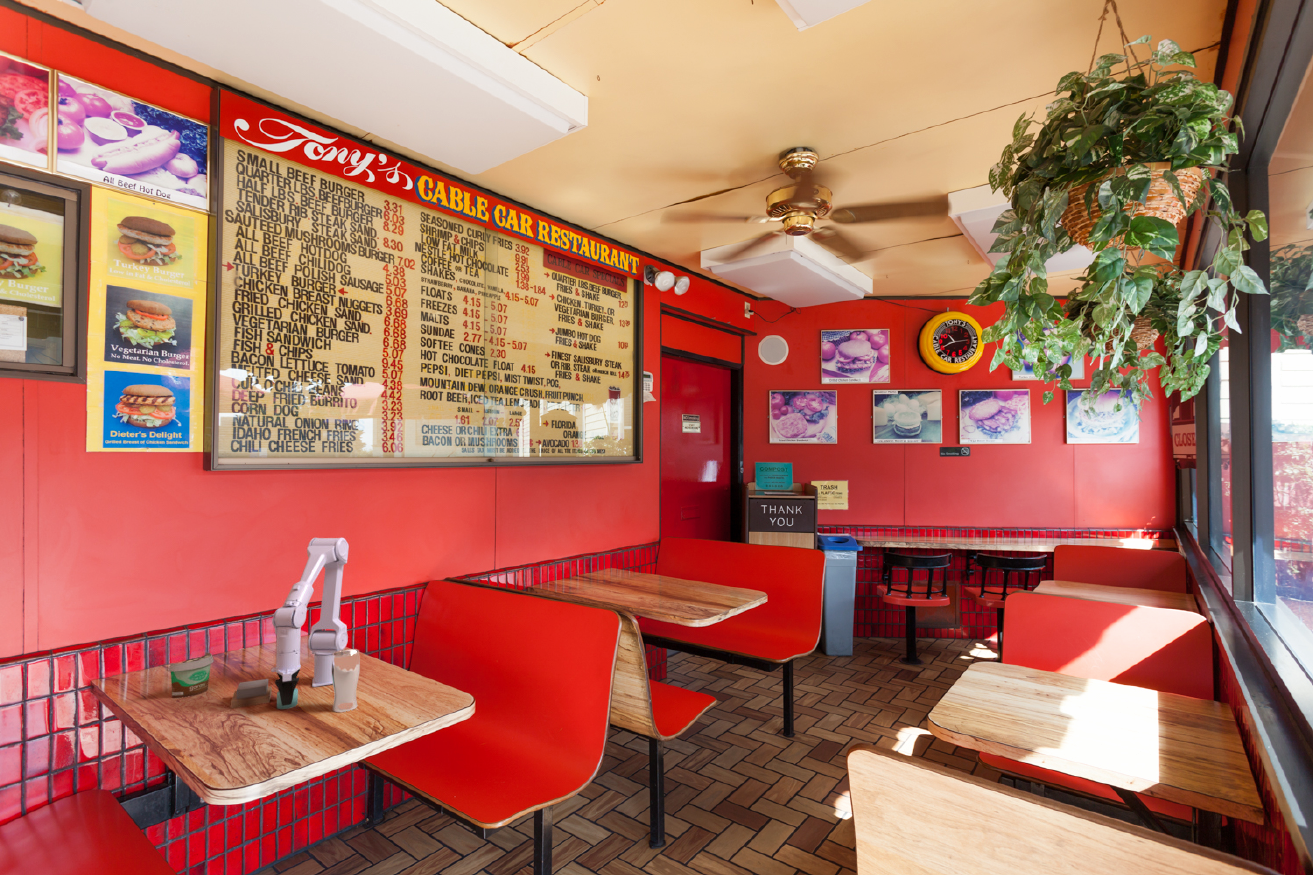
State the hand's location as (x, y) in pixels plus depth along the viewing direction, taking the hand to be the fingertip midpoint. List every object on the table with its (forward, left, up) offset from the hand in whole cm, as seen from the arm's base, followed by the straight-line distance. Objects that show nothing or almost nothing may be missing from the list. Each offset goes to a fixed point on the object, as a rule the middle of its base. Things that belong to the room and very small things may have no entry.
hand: (287, 700), depth 174 cm
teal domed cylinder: (0, 0, -2) cm, 2 cm away
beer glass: (-14, +10, -2) cm, 17 cm away
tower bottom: (+9, -10, -2) cm, 14 cm away
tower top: (+9, -10, 0) cm, 13 cm away
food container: (+24, -25, -2) cm, 35 cm away
